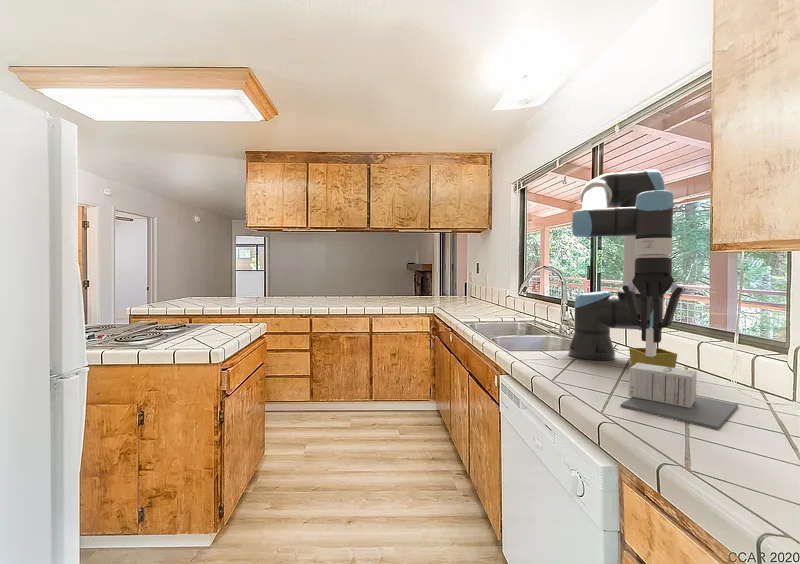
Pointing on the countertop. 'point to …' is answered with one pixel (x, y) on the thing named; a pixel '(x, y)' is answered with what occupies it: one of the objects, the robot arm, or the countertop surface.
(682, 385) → the supplement box
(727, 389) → the countertop surface
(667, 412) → the mat
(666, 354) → the flower pot
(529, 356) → the countertop surface
